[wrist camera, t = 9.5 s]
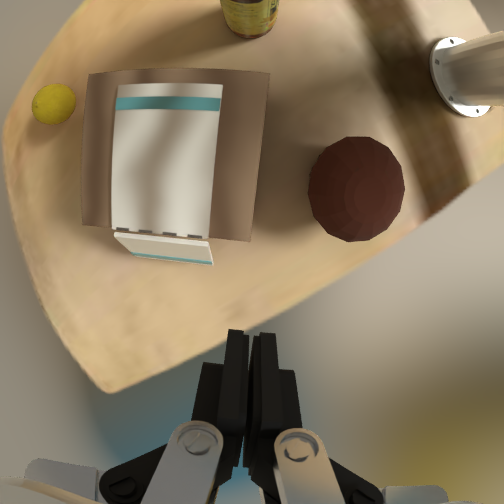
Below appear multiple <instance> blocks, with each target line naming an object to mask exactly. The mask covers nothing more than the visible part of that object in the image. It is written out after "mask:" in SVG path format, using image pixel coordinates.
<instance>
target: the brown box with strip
mask: <svg viewBox="0 0 504 504" xmlns="http://www.w3.org/2000/svg"><path fill="white" fill-rule="evenodd" d="M269 78H270V74H269V73H261V72H251V71H240V70H226V69H204V68H160V69H139V70H125V71H114V72H104V73H96V74H89V77H88V84H87V92H86V101H85V110H84V122H83V136H82V159H81V201H82V225H89V226H100V227H110V228H112V229H114V230H124V231H134V232H144V233H154V234H163V235H173V236H182V237H192V238H201V239H208V238H218V239H227V240H237V241H246V242H250V238H251V229H252V221H253V212H254V204H255V195H256V187H257V178H258V170H259V161H260V153H261V144H262V136H263V128H264V119H265V111H266V103H267V94H268V86H269Z"/></svg>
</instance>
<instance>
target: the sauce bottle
mask: <svg viewBox="0 0 504 504" xmlns="http://www.w3.org/2000/svg"><path fill="white" fill-rule="evenodd" d="M220 3H221V6H222V10H223V14H224V17H225V20H226V23H227V25H228V26H229V28H230V29H231V30H232V31H233V32H234V33H235V34H237V35H238V36H241V37H245V38H257V37H261V36H263V35H265V34H266V33H268V32H269V31H270V30H271V29H272V27H273V25H274V23H275V21H276V19H277V12H278V5H279V0H220Z"/></svg>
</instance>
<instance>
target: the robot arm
mask: <svg viewBox="0 0 504 504" xmlns="http://www.w3.org/2000/svg"><path fill="white" fill-rule="evenodd" d="M429 64H430V72H431V76H432V80H433V82H434V85H435V87H436V89H437V91H438V93H439V95H440V96H441V98H442V99H443V100H444V102H445V103H446V104H447V105H448V106H449V107H450V108H451V109H453V110H454V111H455V112H457V113H458V114H460V115H463V116H466V117H478V116H480V115H483V114H484V113H485V112H486V111H487V110H488V109H489V107H490V106H504V30H503V31H499V32H496V33H492V34H489V35H486V36H482V37H479V38H476V39H473V40H470V41H467V42H466V41H465V40H462V39H460V38H456V37H447V38H444V39H441V40H439V41H438V42H437V43H436V44H435V45H434V46H433V48H432V50H431V54H430V62H429ZM243 333H244V331H242V330H233V329H229V330H228V337H227V345H226V352H225V360H224V364H216V363H207V362H203V365H202V370H201V374H200V380H199V384H198V389H197V394H196V399H195V404H194V409H193V413H192V418H191V421H188V422H186V423H182V424H181V425H179V426H178V427H177V428H176V429H175V430H174V432H173V433H172V435H171V438H170V440H169V442H168V443H167V444H165V445H163V446H161V447H159V448H157V449H155V450H153V451H151V452H148V453H146V454H144V455H142V456H140V457H137V458H135V459H133V460H130V461H128V462H126V463H123V464H121V465H118V466H116V467H114V468H111V469H109V470H108V471H103V470H98V469H97V468H96V467H89V466H80V465H75V464H69V463H63V462H58V461H53V460H48V459H39V458H38V459H35V460H33V461H31V462H30V463H29V464H28V466H27V468H26V471H25V476H24V478H20V477H11V476H2V477H0V504H215V501H216V497H217V494H218V490H219V486H220V485H222V484H223V483H225V482H226V481H228V480H229V479H231V475H232V469H233V466H234V467H238V463H239V458H240V453H241V447H242V442H243V436H244V444H243V467H247V468H249V472H248V475H251V480H252V481H253V482H255V483H256V484H257V485H258V486H259V492H260V497H261V502H262V504H481V503H477V502H472V501H453V502H448V496H447V493H446V492H445V491H444V489H443V488H441V487H439V486H436V485H426V486H386V487H385V488H377V487H376V486H374V485H373V484H371V483H369V482H368V481H366V480H364V479H363V478H361V477H359V476H358V475H356V474H354V473H353V472H351V471H349V470H348V469H346V468H344V467H343V466H341V465H340V464H338V463H336V462H335V461H333V460H332V459H330V458H329V457H328V455H327V453H326V450H325V447H324V445H323V442H322V441H321V439H320V438H319V437H318V436H317V435H316V434H315V433H313V432H311V431H309V430H307V429H303V428H302V421H301V414H300V406H299V400H298V392H297V385H296V378H295V373H294V371H293V370H282V369H279V366H278V355H277V345H276V335H275V333H263V332H260V334H259V336H254V337H253V344H252V351H251V357H250V364H249V371H248V357H249V335H243Z"/></svg>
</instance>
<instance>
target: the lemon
mask: <svg viewBox="0 0 504 504" xmlns="http://www.w3.org/2000/svg"><path fill="white" fill-rule="evenodd" d="M75 106H76V97H75V94H74V92H73V91H72V90H71V89H70V88H69V87H68V86H65V85H63V84H51V85H48V86H45V87H43V88H42V89H40V90H39V91H38V93H37V94H36V95H35V97H34V99H33V102H32V112H33V115H34V116H35V118H36V119H37V120H38V121H40V122H42V123H45V124H49V125H52V124H59V123H61V122H63V121H65V120H66V119H68V118H69V117H70V116H71V114H72V113H73V111H74V109H75Z"/></svg>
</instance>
